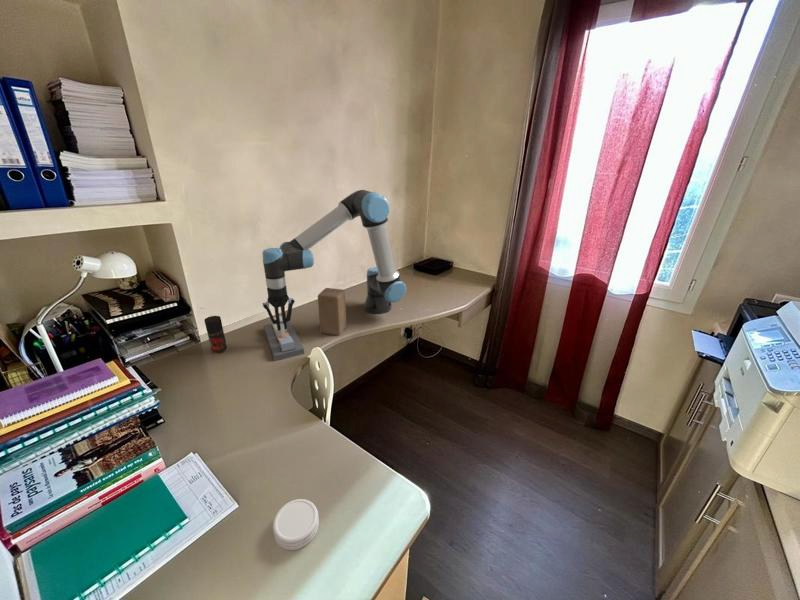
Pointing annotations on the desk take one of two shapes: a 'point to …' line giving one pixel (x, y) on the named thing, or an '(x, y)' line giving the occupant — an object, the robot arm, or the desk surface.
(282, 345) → the key slate
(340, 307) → the wooden block
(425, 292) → the desk surface
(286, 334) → the key terracotta
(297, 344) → the keypad base
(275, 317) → the key grey
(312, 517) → the white round container
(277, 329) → the key sage
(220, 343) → the deodorant
